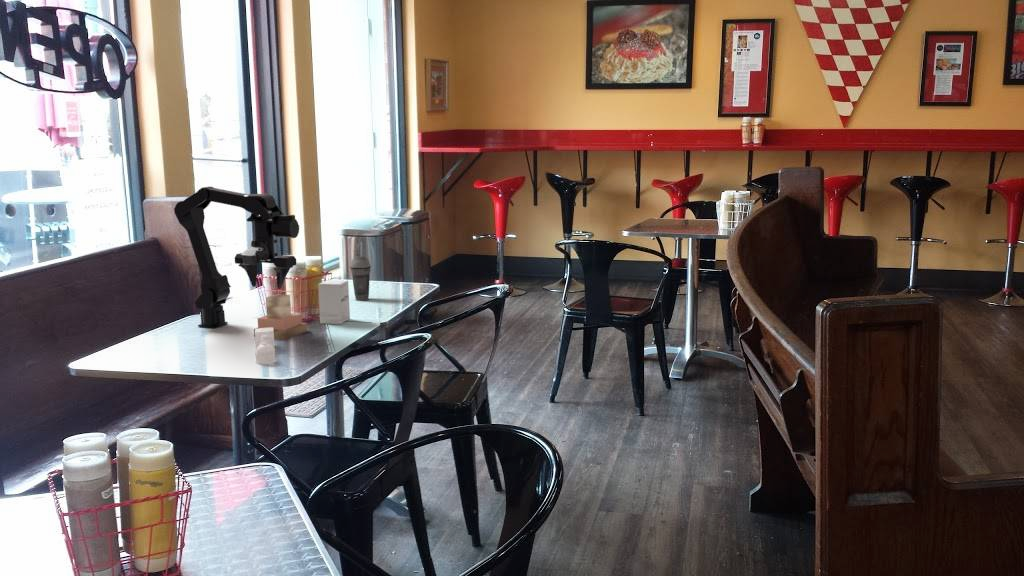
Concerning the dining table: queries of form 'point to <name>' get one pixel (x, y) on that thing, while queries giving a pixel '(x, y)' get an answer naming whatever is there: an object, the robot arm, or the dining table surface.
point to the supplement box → (334, 301)
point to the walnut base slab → (289, 332)
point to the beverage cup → (360, 276)
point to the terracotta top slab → (280, 322)
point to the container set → (265, 345)
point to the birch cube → (278, 306)
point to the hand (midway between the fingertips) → (266, 287)
